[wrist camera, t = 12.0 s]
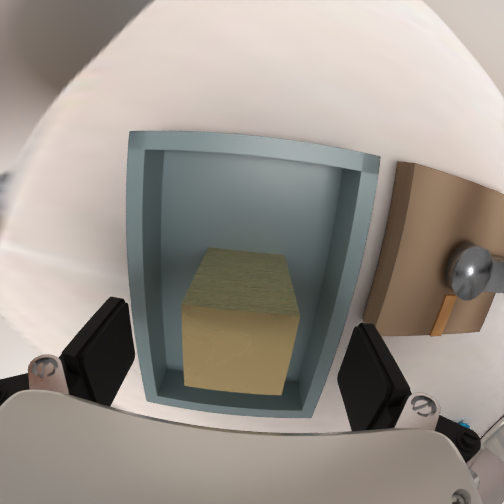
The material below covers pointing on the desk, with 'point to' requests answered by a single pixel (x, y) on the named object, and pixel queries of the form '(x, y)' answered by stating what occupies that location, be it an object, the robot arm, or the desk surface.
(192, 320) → the block
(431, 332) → the crank base
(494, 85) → the desk surface
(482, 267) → the crank
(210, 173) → the tray
